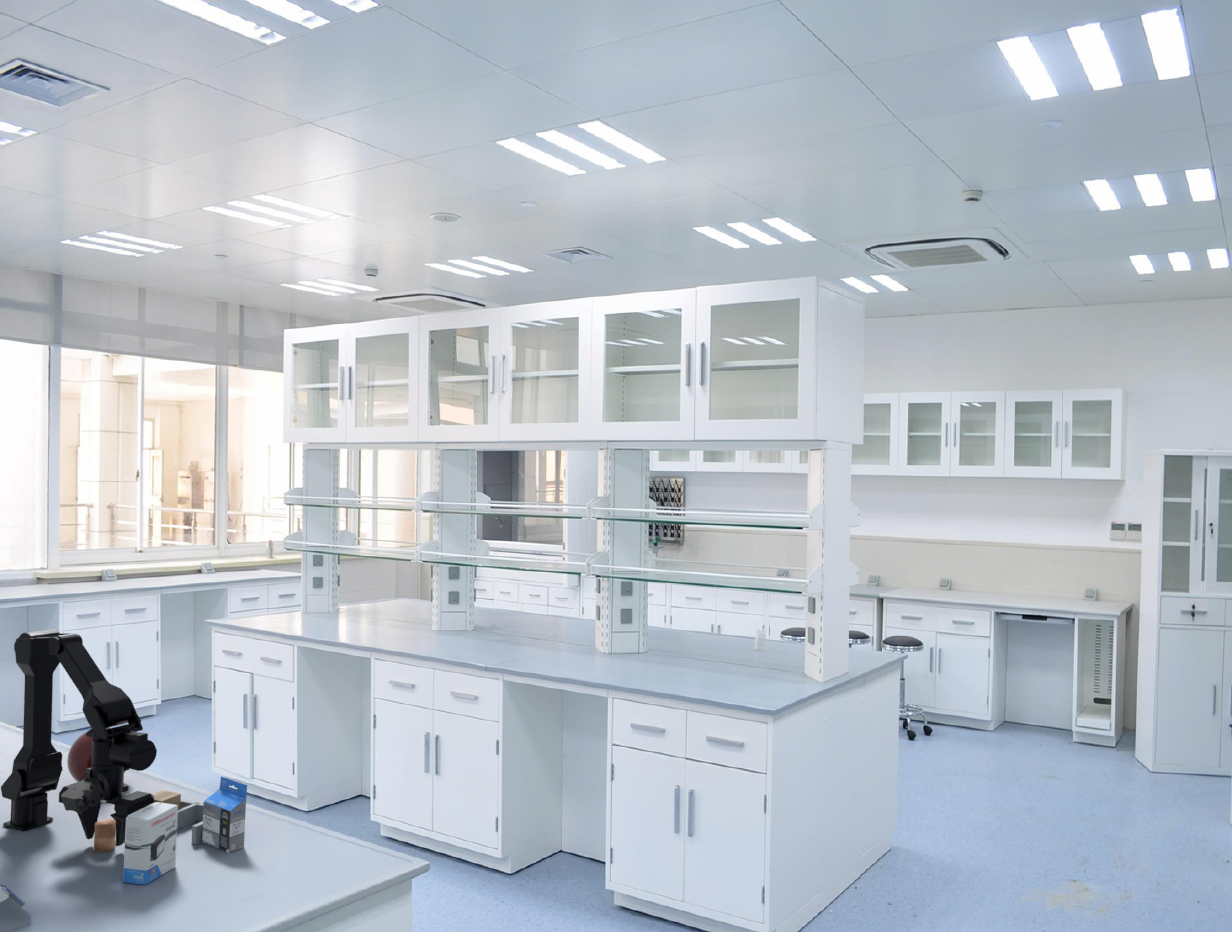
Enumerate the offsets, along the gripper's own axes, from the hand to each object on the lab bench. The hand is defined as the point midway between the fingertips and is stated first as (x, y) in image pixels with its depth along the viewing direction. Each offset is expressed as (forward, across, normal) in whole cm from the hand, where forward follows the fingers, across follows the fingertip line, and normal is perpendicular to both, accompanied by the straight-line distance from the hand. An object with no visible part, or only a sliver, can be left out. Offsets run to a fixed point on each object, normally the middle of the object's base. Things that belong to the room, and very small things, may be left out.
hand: (104, 841), depth 182 cm
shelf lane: (+1, +5, +14) cm, 15 cm away
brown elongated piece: (+1, 0, +7) cm, 7 cm away
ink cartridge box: (+2, +19, +11) cm, 22 cm away
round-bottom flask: (+2, -31, +26) cm, 40 cm away
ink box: (+1, +17, -5) cm, 18 cm away
